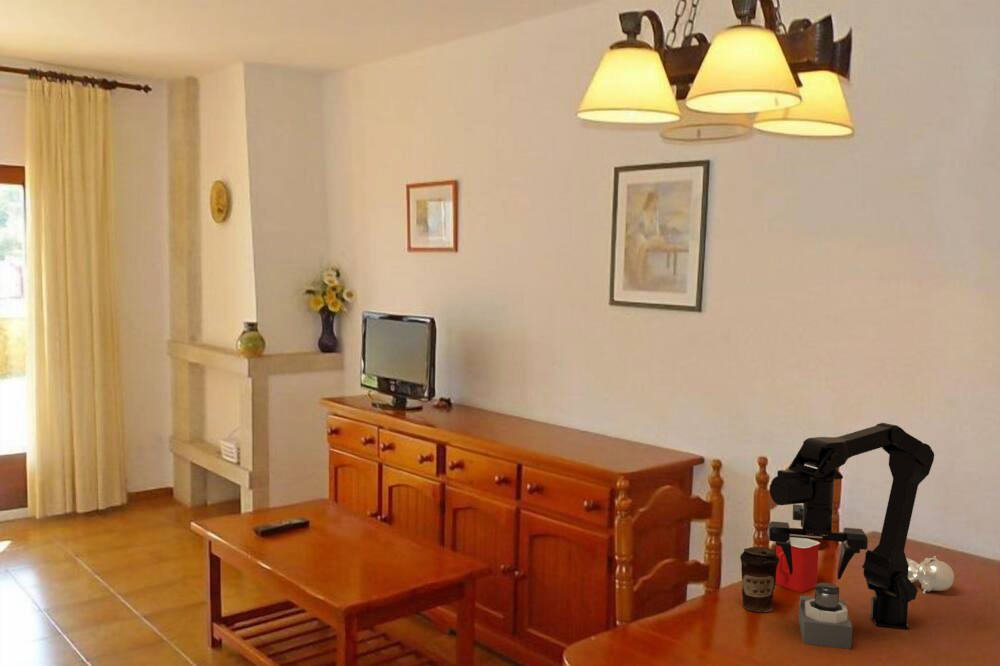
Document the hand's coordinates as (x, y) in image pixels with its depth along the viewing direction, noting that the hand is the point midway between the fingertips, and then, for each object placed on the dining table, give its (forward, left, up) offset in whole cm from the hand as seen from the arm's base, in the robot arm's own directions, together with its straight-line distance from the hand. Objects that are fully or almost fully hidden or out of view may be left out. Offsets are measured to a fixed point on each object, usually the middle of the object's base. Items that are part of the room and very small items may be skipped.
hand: (814, 576), depth 181 cm
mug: (+2, -30, -13) cm, 33 cm away
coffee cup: (+10, -13, -13) cm, 21 cm away
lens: (-2, 0, -8) cm, 8 cm away
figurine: (-28, -40, -13) cm, 50 cm away
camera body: (-2, -1, -12) cm, 13 cm away
